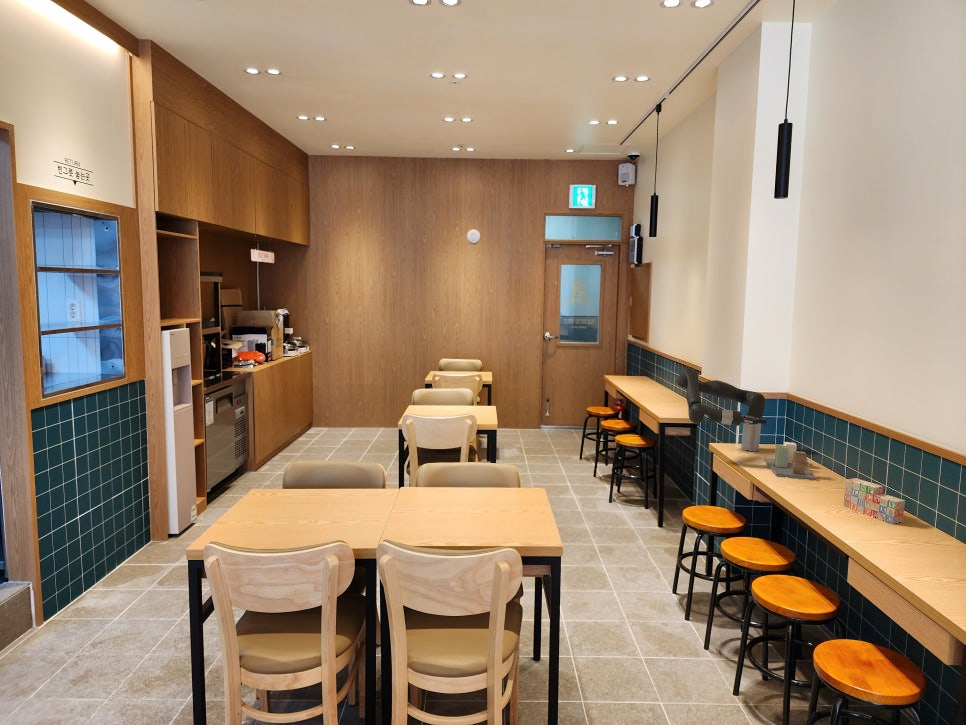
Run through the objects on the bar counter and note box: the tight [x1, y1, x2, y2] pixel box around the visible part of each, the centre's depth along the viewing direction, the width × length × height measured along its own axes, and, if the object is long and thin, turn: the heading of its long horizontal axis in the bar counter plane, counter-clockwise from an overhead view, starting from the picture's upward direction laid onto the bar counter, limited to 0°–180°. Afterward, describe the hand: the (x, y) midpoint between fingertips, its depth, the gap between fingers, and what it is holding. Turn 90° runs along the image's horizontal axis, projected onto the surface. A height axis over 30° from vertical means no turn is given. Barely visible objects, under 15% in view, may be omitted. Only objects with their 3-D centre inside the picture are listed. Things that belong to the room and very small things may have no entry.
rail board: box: [763, 457, 817, 481], centre depth 326 cm, size 31×18×2 cm, turn 167°
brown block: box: [791, 450, 808, 474], centre depth 315 cm, size 5×5×10 cm
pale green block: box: [774, 444, 789, 468], centre depth 326 cm, size 5×5×10 cm
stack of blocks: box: [843, 477, 906, 525], centre depth 263 cm, size 21×6×12 cm, turn 25°
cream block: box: [783, 441, 798, 464], centre depth 335 cm, size 5×5×10 cm
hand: (765, 421), depth 326 cm, fingers closed
